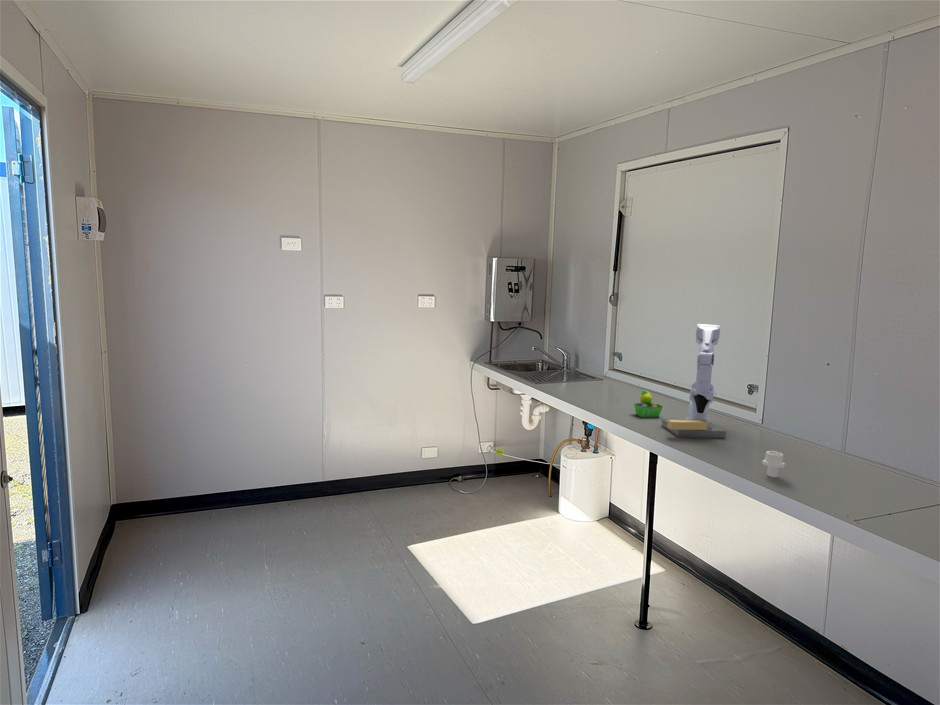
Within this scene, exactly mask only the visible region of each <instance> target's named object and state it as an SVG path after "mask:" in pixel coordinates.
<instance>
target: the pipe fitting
mask: <svg viewBox="0 0 940 705" xmlns="http://www.w3.org/2000/svg"><path fill="white" fill-rule="evenodd" d="M783 460H784V454H783V453H782V452H779V451H776V450H767V451H766V452H765V459H763V460H762V461H761V464H762V465H764V466H765V467H767V469H766V470H767V471H766V476H767V475H768V476H767V477H769V476H770V478H777V477H778V475H779V469H782V468H785V466H786V463H785V462H783Z"/></svg>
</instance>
